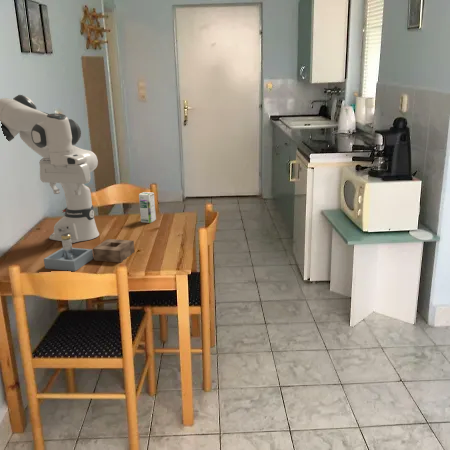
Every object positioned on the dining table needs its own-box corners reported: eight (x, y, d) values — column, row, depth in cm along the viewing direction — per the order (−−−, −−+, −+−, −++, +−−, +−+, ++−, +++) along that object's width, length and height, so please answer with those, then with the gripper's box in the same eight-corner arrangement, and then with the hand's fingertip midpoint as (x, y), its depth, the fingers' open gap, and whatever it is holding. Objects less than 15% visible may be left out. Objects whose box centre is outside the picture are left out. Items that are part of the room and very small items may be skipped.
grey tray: (45, 268, 191) (43, 258, 190) (64, 256, 203) (63, 247, 202) (75, 271, 188) (73, 261, 186) (93, 258, 200) (92, 249, 199)
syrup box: (140, 222, 246) (138, 194, 241) (146, 219, 251) (144, 191, 247) (150, 223, 244) (148, 194, 239) (156, 219, 249) (154, 192, 245)
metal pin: (63, 262, 194) (59, 236, 191) (68, 259, 197) (64, 233, 194) (70, 263, 193) (67, 236, 190) (75, 259, 196) (72, 233, 193)
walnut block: (94, 260, 198) (92, 248, 196) (109, 250, 209) (107, 238, 207) (121, 262, 195) (119, 250, 193) (134, 251, 205) (133, 240, 204)
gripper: (33, 159, 184) (39, 195, 188) (81, 160, 178) (85, 197, 182) (44, 156, 190) (49, 191, 194) (90, 157, 184) (94, 193, 188)
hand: (67, 194), depth 188 cm, fingers open, 8 cm apart
